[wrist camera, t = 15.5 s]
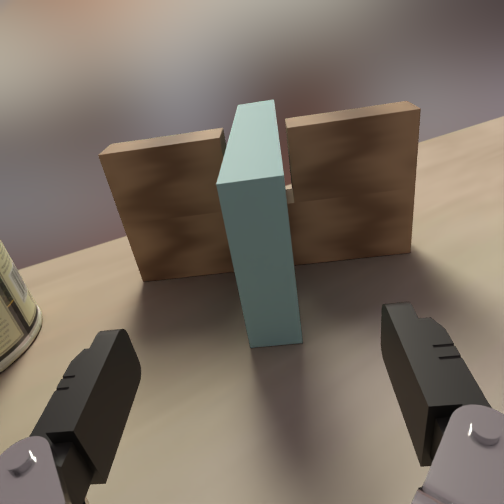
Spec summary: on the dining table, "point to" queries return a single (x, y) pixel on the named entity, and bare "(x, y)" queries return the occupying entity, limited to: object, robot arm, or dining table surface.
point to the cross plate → (259, 227)
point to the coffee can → (15, 312)
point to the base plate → (298, 198)
